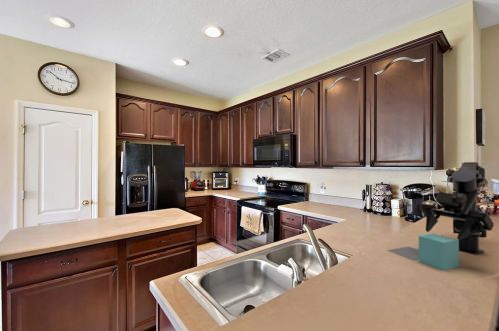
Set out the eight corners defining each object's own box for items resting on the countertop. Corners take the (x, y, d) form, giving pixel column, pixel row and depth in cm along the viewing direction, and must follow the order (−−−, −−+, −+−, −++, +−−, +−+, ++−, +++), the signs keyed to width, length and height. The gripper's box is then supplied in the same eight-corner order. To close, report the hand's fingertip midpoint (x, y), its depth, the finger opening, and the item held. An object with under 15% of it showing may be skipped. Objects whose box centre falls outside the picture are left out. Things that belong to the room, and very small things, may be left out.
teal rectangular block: (433, 259, 79) (433, 233, 79) (458, 268, 72) (458, 239, 72) (418, 262, 76) (418, 235, 76) (444, 271, 70) (443, 242, 70)
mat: (408, 247, 90) (408, 246, 90) (436, 256, 81) (436, 255, 81) (386, 251, 86) (386, 250, 86) (413, 261, 77) (413, 260, 77)
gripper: (422, 182, 86) (402, 213, 82) (488, 186, 68) (466, 226, 64) (436, 201, 88) (417, 232, 85) (502, 210, 71) (482, 250, 67)
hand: (441, 234), depth 75 cm, fingers open, 9 cm apart
